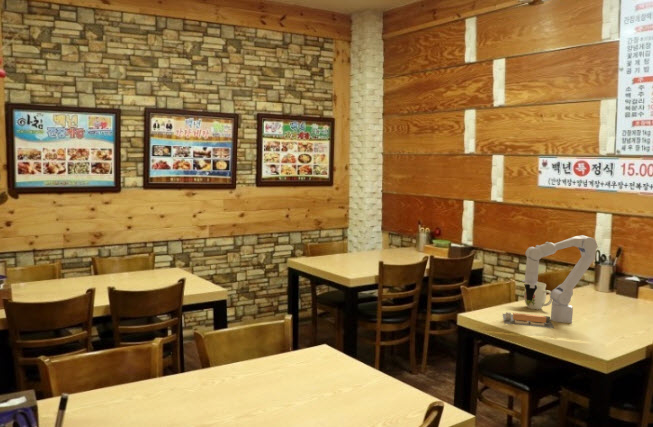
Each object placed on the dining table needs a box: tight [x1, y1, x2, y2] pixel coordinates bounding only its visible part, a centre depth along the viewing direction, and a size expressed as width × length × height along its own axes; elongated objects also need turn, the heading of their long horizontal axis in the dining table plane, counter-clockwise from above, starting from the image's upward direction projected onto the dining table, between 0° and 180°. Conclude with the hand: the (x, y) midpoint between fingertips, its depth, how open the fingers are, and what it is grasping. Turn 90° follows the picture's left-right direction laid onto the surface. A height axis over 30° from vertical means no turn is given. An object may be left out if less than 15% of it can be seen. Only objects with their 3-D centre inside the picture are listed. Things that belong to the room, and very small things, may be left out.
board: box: [502, 311, 555, 329], centre depth 272 cm, size 22×18×5 cm
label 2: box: [530, 321, 544, 326], centre depth 268 cm, size 6×6×1 cm
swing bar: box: [512, 312, 551, 323], centre depth 268 cm, size 16×3×3 cm, turn 76°
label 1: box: [514, 320, 528, 324], centre depth 269 cm, size 6×6×1 cm
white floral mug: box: [522, 278, 553, 310], centre depth 299 cm, size 11×18×14 cm, turn 35°
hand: (529, 299), depth 274 cm, fingers closed
